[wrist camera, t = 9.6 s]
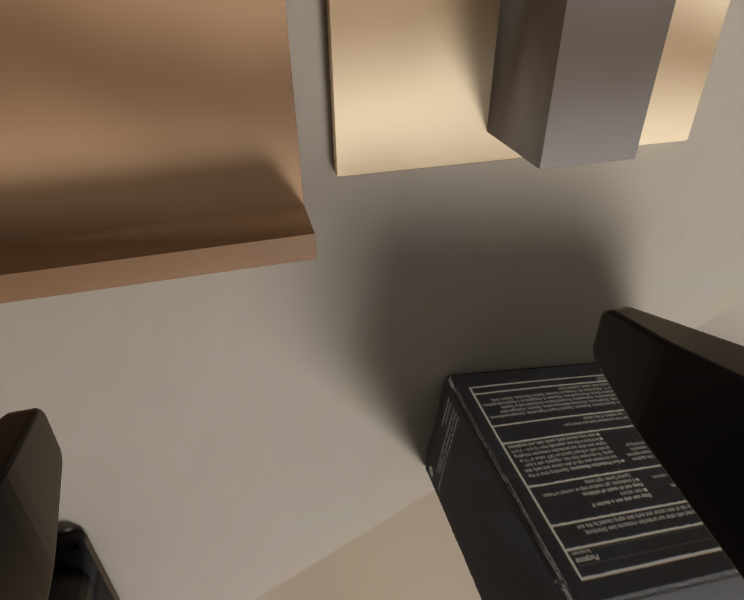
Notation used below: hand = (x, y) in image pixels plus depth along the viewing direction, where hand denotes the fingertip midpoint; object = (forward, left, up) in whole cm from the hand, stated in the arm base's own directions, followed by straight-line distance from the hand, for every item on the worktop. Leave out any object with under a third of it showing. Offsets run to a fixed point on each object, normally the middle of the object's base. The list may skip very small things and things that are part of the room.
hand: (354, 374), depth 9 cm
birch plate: (+3, -8, -11) cm, 14 cm away
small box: (-14, -11, -11) cm, 21 cm away
